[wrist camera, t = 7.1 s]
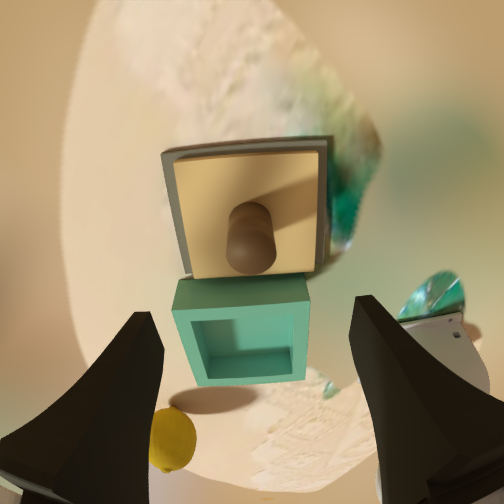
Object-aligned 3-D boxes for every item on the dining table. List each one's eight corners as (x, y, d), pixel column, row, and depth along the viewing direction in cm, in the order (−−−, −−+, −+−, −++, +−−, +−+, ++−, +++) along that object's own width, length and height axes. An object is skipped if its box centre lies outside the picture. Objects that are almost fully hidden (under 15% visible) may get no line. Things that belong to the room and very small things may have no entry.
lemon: (175, 389, 29) (165, 461, 22) (209, 412, 32) (205, 478, 25) (138, 400, 31) (125, 464, 24) (172, 421, 33) (165, 481, 26)
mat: (325, 138, 17) (327, 140, 16) (322, 259, 21) (323, 262, 21) (162, 152, 17) (160, 154, 16) (186, 269, 21) (185, 273, 21)
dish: (302, 271, 21) (310, 300, 19) (300, 351, 26) (305, 379, 23) (178, 280, 22) (171, 310, 19) (200, 357, 26) (197, 386, 24)
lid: (315, 150, 17) (334, 174, 13) (312, 265, 21) (324, 307, 17) (175, 159, 17) (157, 186, 13) (195, 273, 21) (187, 316, 17)
